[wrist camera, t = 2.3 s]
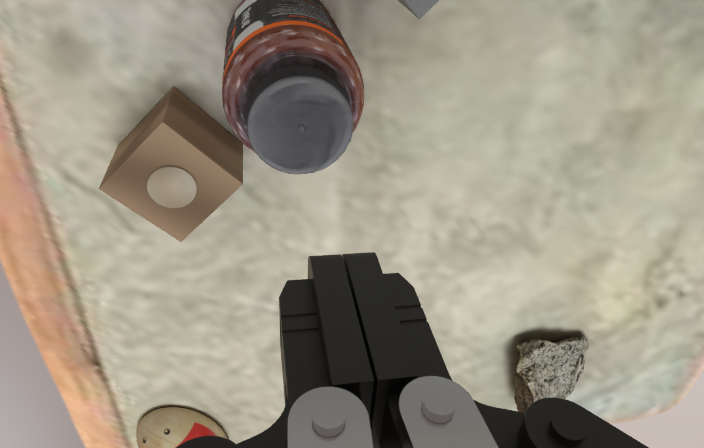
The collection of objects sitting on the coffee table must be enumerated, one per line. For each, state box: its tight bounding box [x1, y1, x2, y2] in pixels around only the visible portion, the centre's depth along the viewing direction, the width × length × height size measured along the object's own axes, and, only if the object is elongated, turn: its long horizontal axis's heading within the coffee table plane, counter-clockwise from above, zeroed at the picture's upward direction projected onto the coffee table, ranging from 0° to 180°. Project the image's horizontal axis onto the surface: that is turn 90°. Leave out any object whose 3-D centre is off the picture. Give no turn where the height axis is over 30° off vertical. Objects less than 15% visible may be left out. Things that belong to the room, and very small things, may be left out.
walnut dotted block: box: [99, 86, 243, 242], centre depth 29 cm, size 5×5×5 cm
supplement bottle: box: [222, 0, 364, 174], centre depth 24 cm, size 6×6×11 cm
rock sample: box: [514, 336, 589, 413], centre depth 47 cm, size 10×8×9 cm
